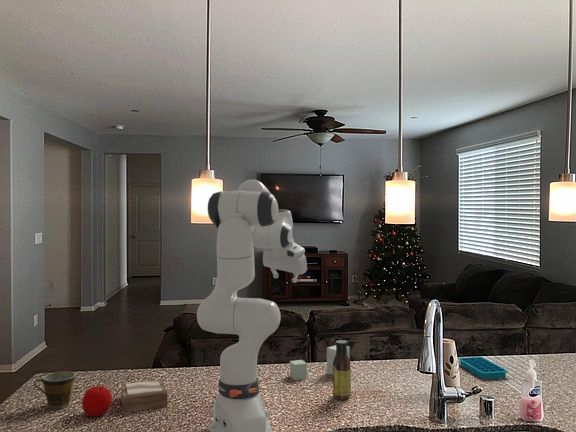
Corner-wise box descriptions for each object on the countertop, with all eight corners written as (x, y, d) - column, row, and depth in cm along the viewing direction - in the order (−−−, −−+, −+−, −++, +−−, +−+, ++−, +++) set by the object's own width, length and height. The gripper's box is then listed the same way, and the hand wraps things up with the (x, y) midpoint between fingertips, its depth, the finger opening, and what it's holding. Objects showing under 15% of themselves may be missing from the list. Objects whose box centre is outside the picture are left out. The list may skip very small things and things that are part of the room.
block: (306, 378, 197) (306, 363, 197) (294, 380, 195) (294, 364, 195) (301, 374, 202) (301, 359, 202) (290, 376, 200) (290, 361, 200)
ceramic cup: (79, 399, 175) (78, 370, 175) (71, 410, 165) (71, 380, 165) (38, 401, 173) (38, 372, 173) (29, 413, 163) (28, 382, 163)
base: (167, 406, 169) (167, 391, 169) (123, 412, 164) (123, 397, 164) (161, 392, 182) (161, 378, 182) (120, 397, 177) (120, 383, 177)
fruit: (115, 415, 161) (114, 384, 161) (84, 422, 157) (84, 390, 156) (108, 406, 169) (108, 376, 169) (79, 412, 164) (79, 381, 164)
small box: (339, 369, 208) (339, 343, 208) (350, 372, 204) (350, 346, 204) (326, 373, 203) (326, 347, 203) (336, 376, 199) (336, 350, 199)
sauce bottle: (336, 392, 182) (336, 337, 181) (353, 395, 179) (353, 339, 179) (329, 399, 176) (330, 342, 175) (346, 402, 173) (347, 344, 173)
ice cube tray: (481, 363, 218) (481, 356, 217) (509, 379, 198) (510, 371, 198) (456, 364, 216) (456, 357, 215) (482, 380, 196) (482, 373, 196)
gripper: (258, 246, 207) (260, 277, 211) (299, 254, 195) (300, 287, 199) (268, 241, 212) (270, 272, 216) (308, 249, 200) (309, 281, 204)
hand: (285, 279), depth 207 cm, fingers open, 8 cm apart
